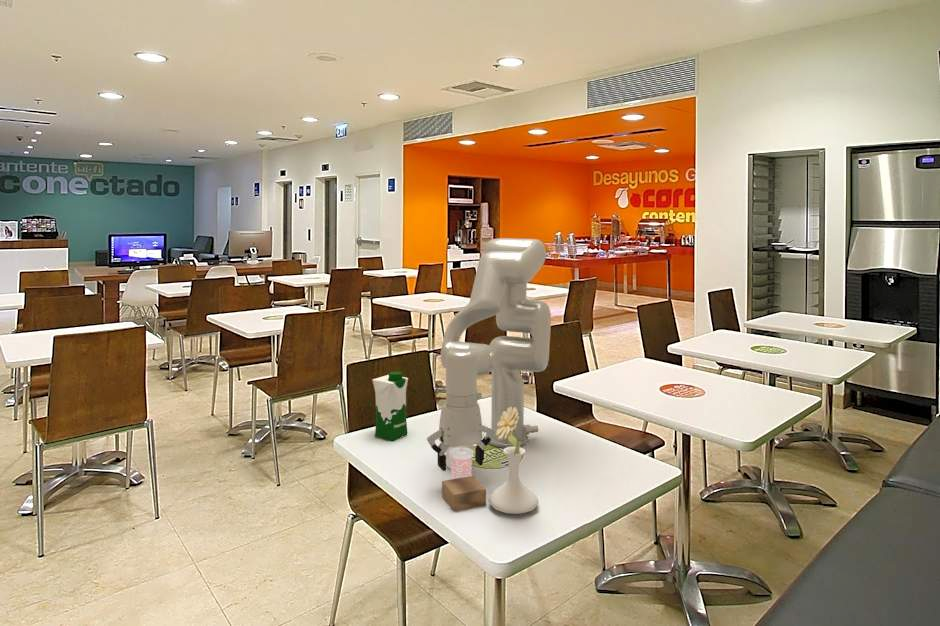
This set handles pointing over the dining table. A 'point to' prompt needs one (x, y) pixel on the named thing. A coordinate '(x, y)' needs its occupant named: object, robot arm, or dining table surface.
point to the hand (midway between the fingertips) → (461, 466)
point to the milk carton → (391, 406)
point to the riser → (463, 493)
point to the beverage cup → (461, 462)
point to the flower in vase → (512, 472)
